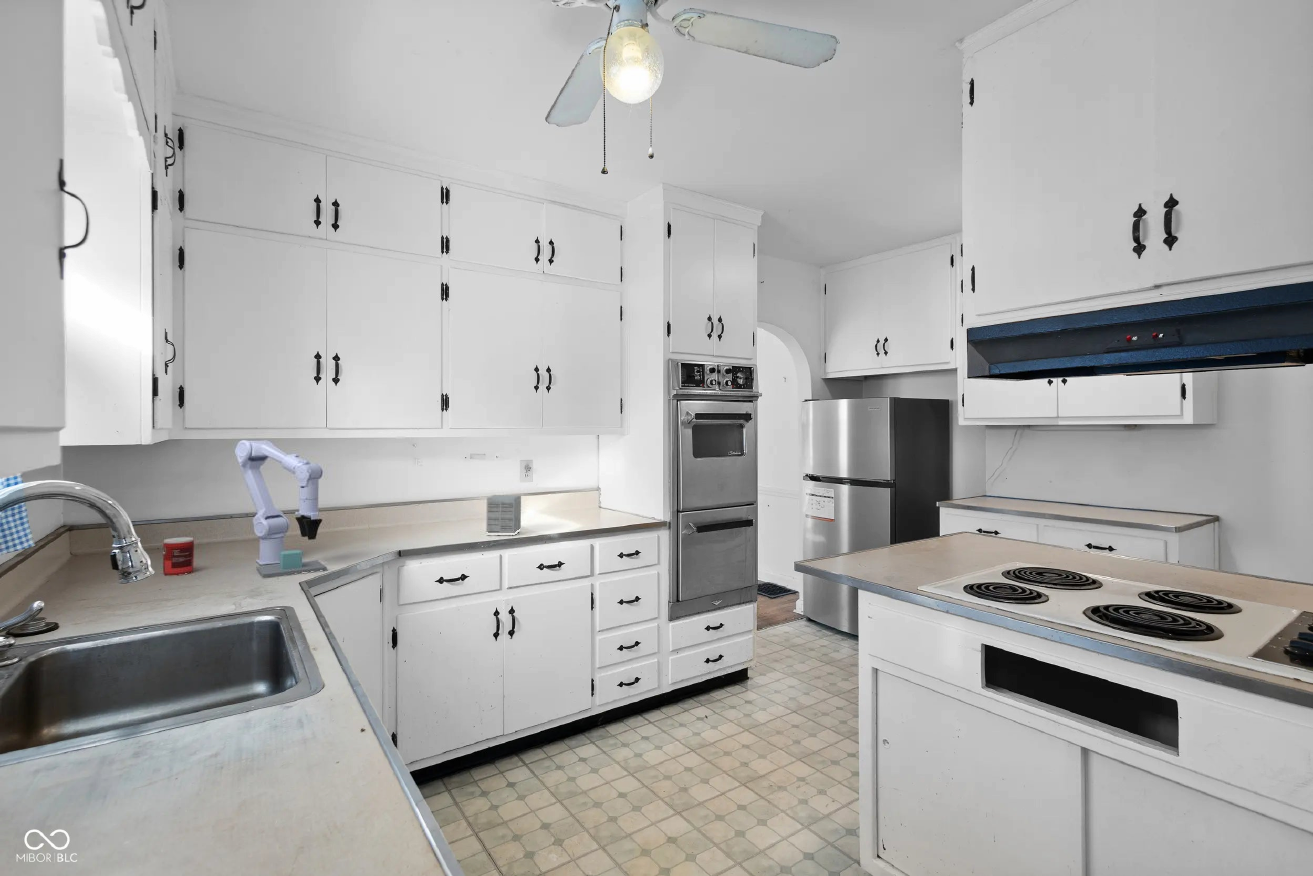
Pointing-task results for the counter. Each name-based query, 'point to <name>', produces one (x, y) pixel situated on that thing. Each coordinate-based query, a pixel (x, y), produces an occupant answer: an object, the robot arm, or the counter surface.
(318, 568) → the stub plate
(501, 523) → the supplement box
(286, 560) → the housing cap
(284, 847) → the counter surface
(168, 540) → the canned food
